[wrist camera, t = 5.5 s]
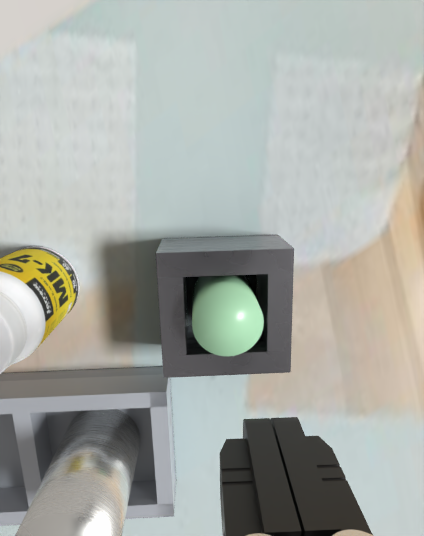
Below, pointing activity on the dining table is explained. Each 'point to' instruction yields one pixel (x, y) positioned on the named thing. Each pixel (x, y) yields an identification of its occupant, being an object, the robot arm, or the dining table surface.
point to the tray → (60, 416)
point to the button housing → (220, 264)
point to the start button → (226, 314)
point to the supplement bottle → (33, 299)
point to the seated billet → (87, 478)
